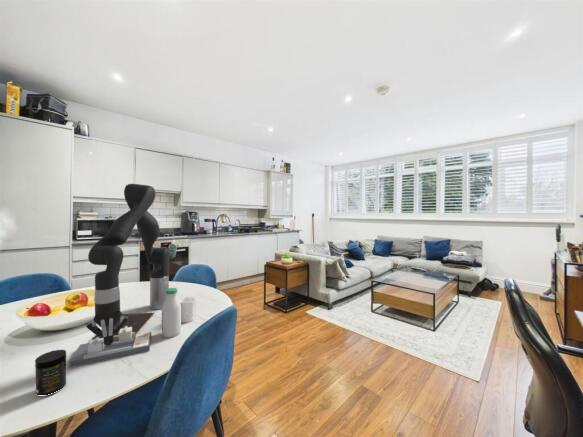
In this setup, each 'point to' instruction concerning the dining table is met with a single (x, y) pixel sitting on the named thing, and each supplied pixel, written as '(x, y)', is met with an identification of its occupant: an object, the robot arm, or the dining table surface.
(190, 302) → the white cup
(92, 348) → the white block with rib
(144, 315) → the hardcover book
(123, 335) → the cream tab
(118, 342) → the switch panel
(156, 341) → the dining table surface
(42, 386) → the supplement container
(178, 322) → the milk bottle
